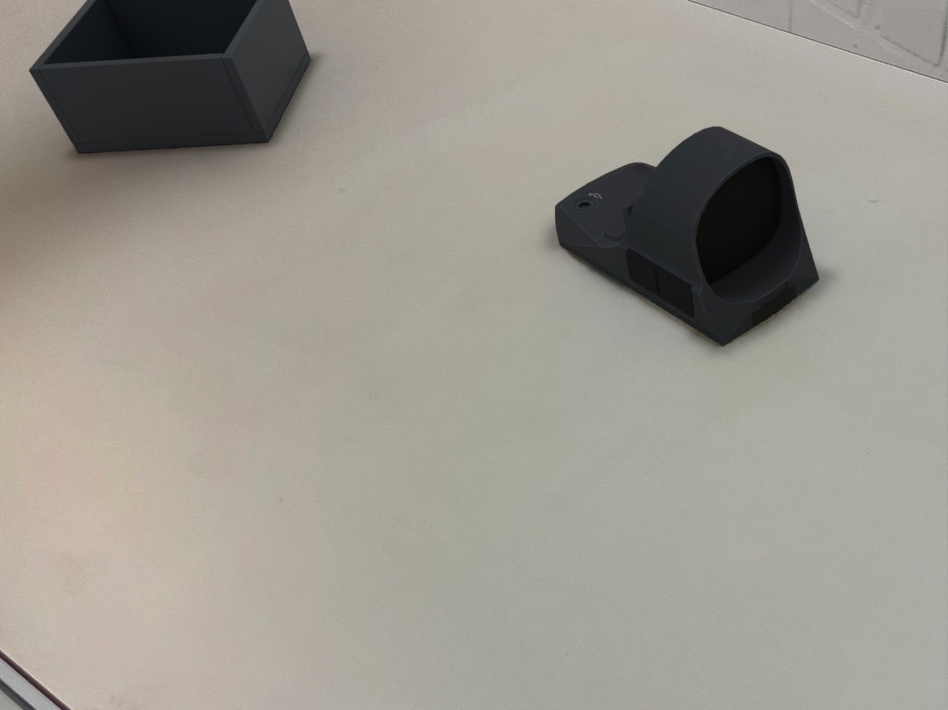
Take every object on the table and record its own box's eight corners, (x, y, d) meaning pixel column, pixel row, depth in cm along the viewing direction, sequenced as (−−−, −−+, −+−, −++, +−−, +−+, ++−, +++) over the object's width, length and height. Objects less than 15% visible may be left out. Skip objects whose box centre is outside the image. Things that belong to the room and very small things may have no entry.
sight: (639, 180, 78) (618, 43, 71) (822, 280, 70) (821, 137, 62) (540, 238, 75) (506, 100, 67) (721, 351, 66) (706, 208, 58)
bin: (77, 153, 86) (27, 70, 80) (137, 69, 94) (95, -12, 89) (268, 142, 85) (231, 57, 80) (311, 58, 93) (280, -24, 88)
